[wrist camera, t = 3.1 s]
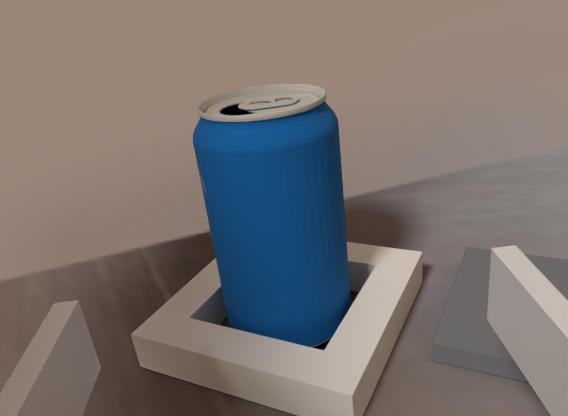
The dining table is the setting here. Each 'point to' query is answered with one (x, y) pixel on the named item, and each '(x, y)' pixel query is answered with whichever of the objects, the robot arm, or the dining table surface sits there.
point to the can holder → (281, 354)
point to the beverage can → (276, 210)
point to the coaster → (483, 316)
